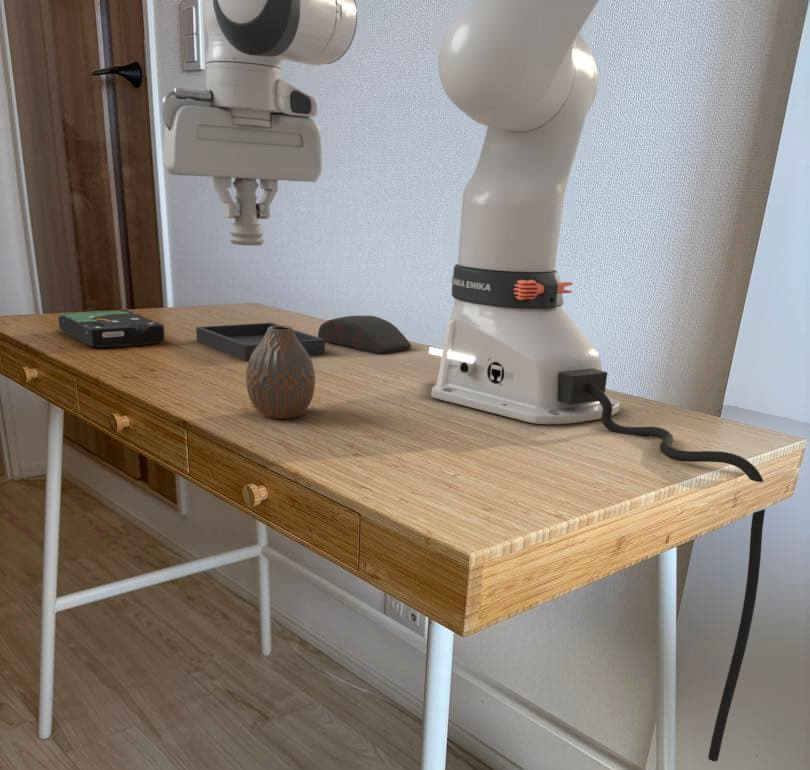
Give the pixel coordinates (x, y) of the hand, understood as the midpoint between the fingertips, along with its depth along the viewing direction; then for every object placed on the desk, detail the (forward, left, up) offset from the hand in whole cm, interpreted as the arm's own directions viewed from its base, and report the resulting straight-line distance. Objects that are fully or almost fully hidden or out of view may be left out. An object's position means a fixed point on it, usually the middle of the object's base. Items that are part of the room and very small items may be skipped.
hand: (246, 218), depth 105 cm
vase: (-28, +11, -18) cm, 35 cm away
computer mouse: (+1, -19, -18) cm, 26 cm away
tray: (+5, -4, -17) cm, 18 cm away
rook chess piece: (0, 0, -3) cm, 3 cm away
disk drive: (+19, +12, -18) cm, 29 cm away
